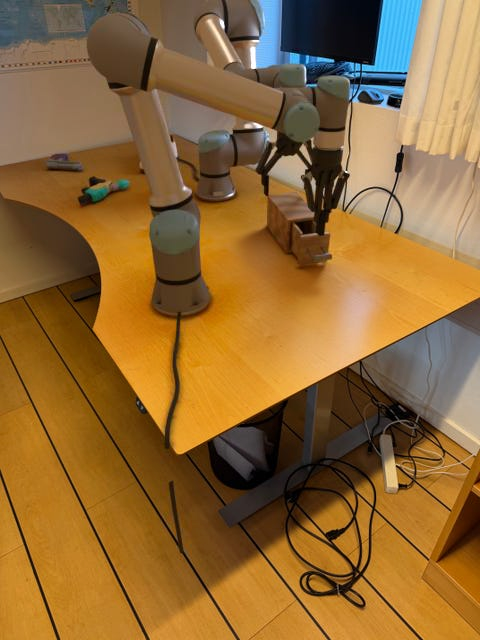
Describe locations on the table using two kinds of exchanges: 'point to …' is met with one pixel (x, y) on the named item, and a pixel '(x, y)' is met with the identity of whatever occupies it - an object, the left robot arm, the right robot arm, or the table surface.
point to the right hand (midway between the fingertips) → (286, 192)
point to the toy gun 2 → (100, 189)
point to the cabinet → (286, 216)
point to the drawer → (309, 243)
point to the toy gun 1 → (62, 162)
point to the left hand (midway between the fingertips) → (319, 233)
